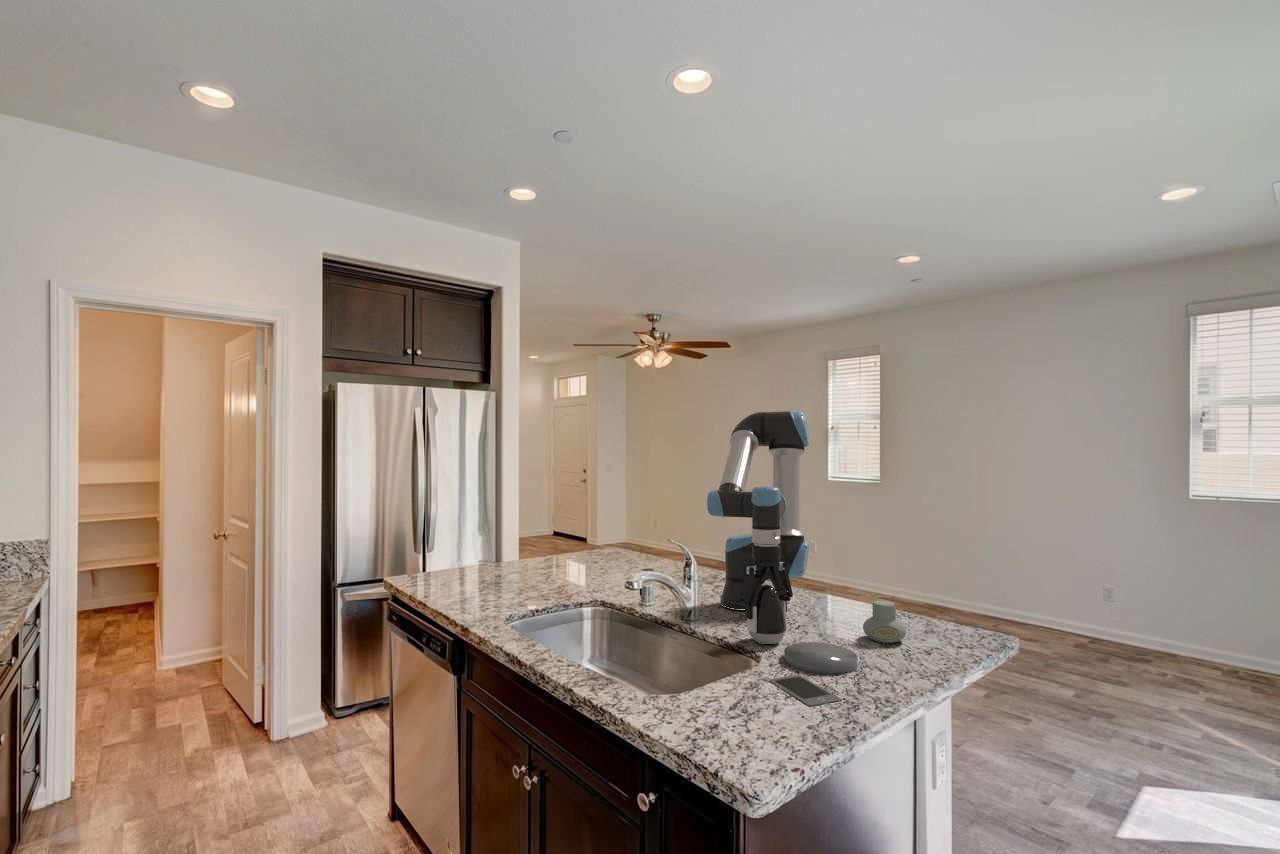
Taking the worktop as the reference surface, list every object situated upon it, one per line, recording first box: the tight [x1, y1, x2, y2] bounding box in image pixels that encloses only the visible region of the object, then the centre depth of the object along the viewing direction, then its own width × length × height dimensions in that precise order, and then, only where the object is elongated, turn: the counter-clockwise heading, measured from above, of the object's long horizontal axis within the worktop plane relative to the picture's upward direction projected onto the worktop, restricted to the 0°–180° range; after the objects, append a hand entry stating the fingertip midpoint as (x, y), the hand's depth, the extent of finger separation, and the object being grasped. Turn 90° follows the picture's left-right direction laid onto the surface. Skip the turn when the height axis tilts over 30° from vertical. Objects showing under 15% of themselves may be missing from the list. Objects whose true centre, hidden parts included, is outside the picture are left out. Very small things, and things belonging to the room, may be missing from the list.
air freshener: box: [862, 600, 907, 644], centre depth 165 cm, size 11×8×10 cm
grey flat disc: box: [783, 641, 858, 675], centre depth 148 cm, size 17×17×2 cm
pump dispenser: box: [748, 584, 787, 645], centre depth 164 cm, size 10×10×15 cm
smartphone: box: [768, 674, 842, 708], centre depth 131 cm, size 15×8×1 cm, turn 21°
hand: (766, 627), depth 163 cm, fingers closed on pump dispenser, 10 cm apart
